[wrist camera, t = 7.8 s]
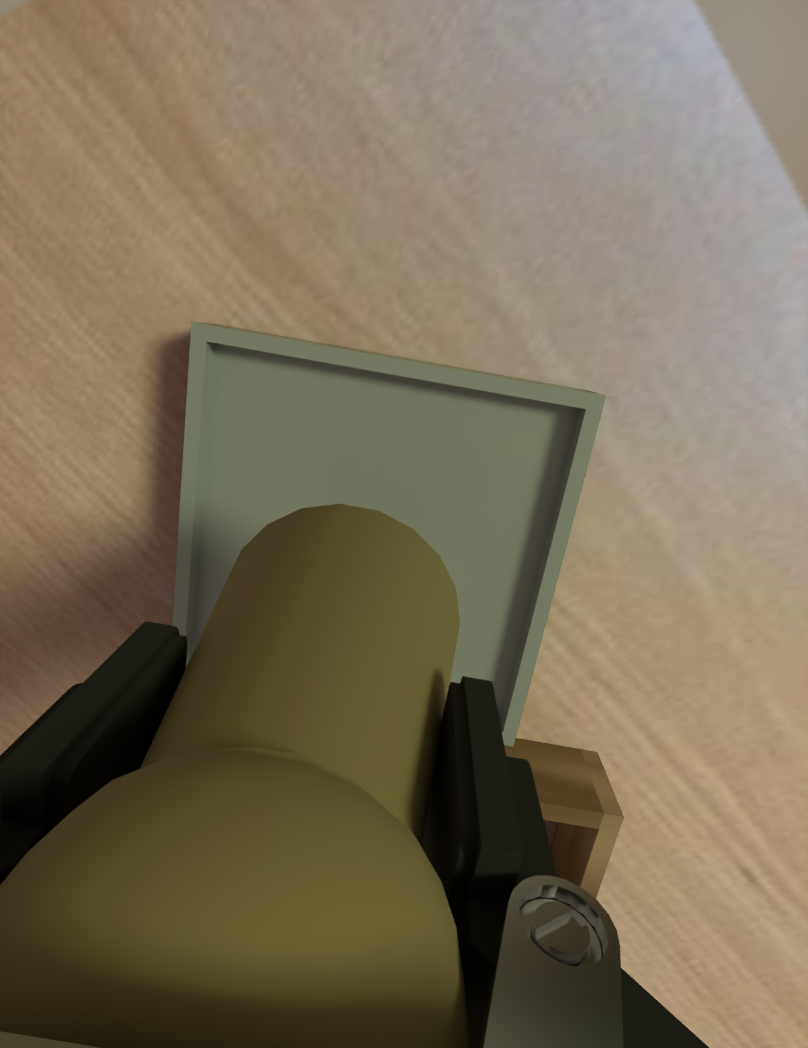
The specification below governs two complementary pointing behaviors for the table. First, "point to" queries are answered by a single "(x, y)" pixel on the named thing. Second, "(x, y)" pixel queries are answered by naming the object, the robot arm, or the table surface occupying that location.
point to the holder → (574, 809)
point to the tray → (387, 477)
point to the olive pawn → (265, 824)
